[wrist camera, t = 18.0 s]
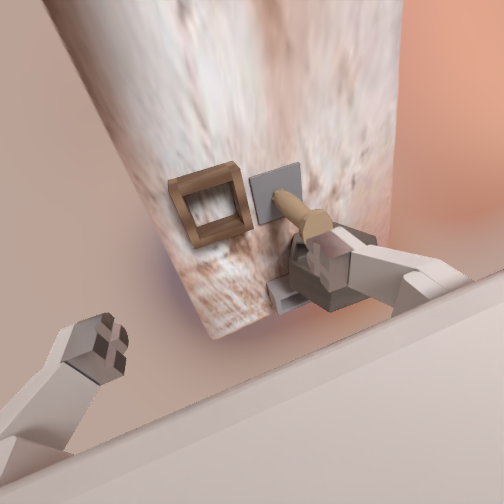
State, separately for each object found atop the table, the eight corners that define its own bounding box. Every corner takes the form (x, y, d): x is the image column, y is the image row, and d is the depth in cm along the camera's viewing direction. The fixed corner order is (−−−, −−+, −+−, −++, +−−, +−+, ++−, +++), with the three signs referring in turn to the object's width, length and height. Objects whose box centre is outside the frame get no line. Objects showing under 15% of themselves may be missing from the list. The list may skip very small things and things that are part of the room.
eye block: (167, 180, 39) (168, 190, 35) (232, 160, 40) (239, 168, 36) (192, 235, 46) (194, 249, 42) (246, 217, 47) (253, 228, 43)
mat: (248, 177, 42) (250, 178, 42) (298, 162, 44) (299, 163, 43) (258, 223, 49) (259, 224, 48) (301, 208, 50) (303, 209, 49)
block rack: (266, 282, 59) (274, 298, 55) (362, 245, 63) (379, 257, 58) (270, 298, 63) (278, 315, 59) (360, 263, 67) (375, 276, 62)
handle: (271, 213, 47) (306, 254, 36) (263, 185, 43) (300, 220, 32) (292, 205, 48) (333, 242, 36) (286, 175, 44) (331, 206, 32)
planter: (372, 222, 52) (388, 289, 37) (367, 249, 57) (379, 319, 42) (297, 221, 57) (283, 280, 42) (298, 246, 62) (285, 307, 47)
